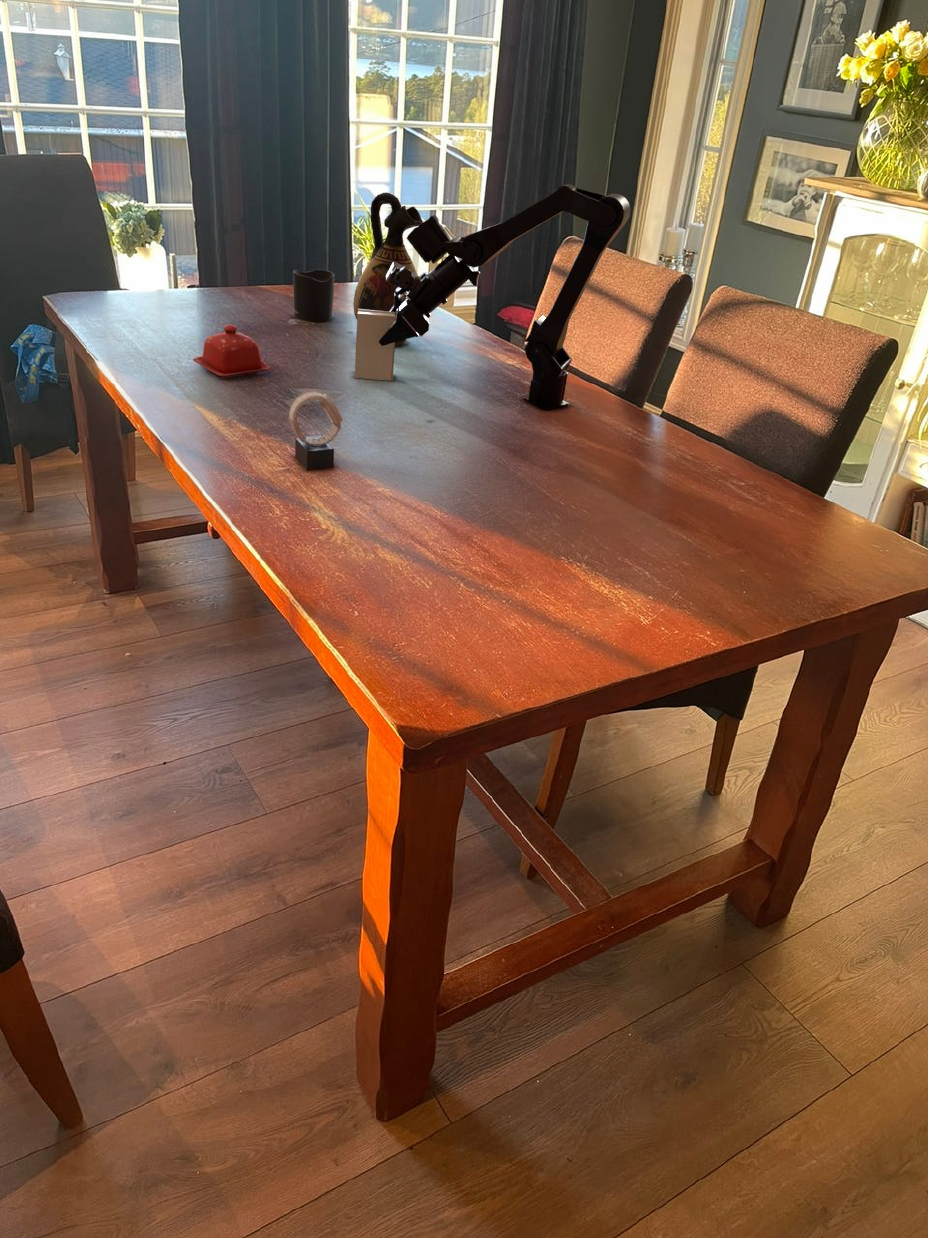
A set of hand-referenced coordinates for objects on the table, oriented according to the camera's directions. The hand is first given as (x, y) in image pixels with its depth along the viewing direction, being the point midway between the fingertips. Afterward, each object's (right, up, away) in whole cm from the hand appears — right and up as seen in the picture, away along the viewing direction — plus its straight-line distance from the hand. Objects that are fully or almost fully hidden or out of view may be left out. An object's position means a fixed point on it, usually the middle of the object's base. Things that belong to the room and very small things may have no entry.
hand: (379, 337), depth 182 cm
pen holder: (-19, +16, +38) cm, 45 cm away
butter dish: (-28, -7, -1) cm, 29 cm away
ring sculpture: (-7, -30, -35) cm, 47 cm away
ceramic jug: (-2, +7, +28) cm, 29 cm away
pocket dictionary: (-2, -7, +4) cm, 8 cm away
